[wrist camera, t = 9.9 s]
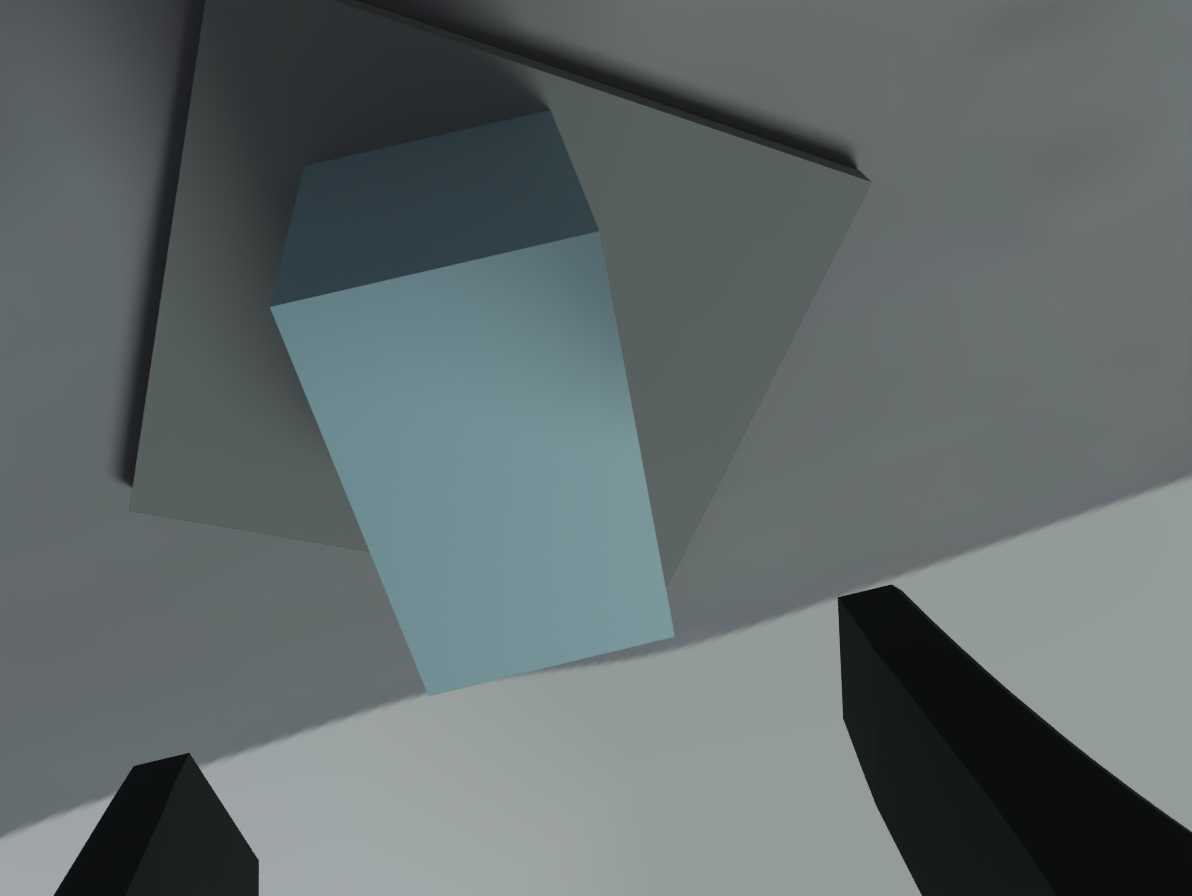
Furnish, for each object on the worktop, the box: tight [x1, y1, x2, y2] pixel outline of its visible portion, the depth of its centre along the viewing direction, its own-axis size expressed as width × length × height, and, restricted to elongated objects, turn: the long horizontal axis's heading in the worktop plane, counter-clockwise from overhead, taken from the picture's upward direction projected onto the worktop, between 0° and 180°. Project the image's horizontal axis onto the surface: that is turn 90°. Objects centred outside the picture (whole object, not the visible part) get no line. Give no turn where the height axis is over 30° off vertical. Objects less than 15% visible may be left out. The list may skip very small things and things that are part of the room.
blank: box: [270, 110, 675, 696], centre depth 16 cm, size 4×7×5 cm, turn 10°
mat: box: [129, 0, 872, 587], centre depth 19 cm, size 11×10×1 cm
